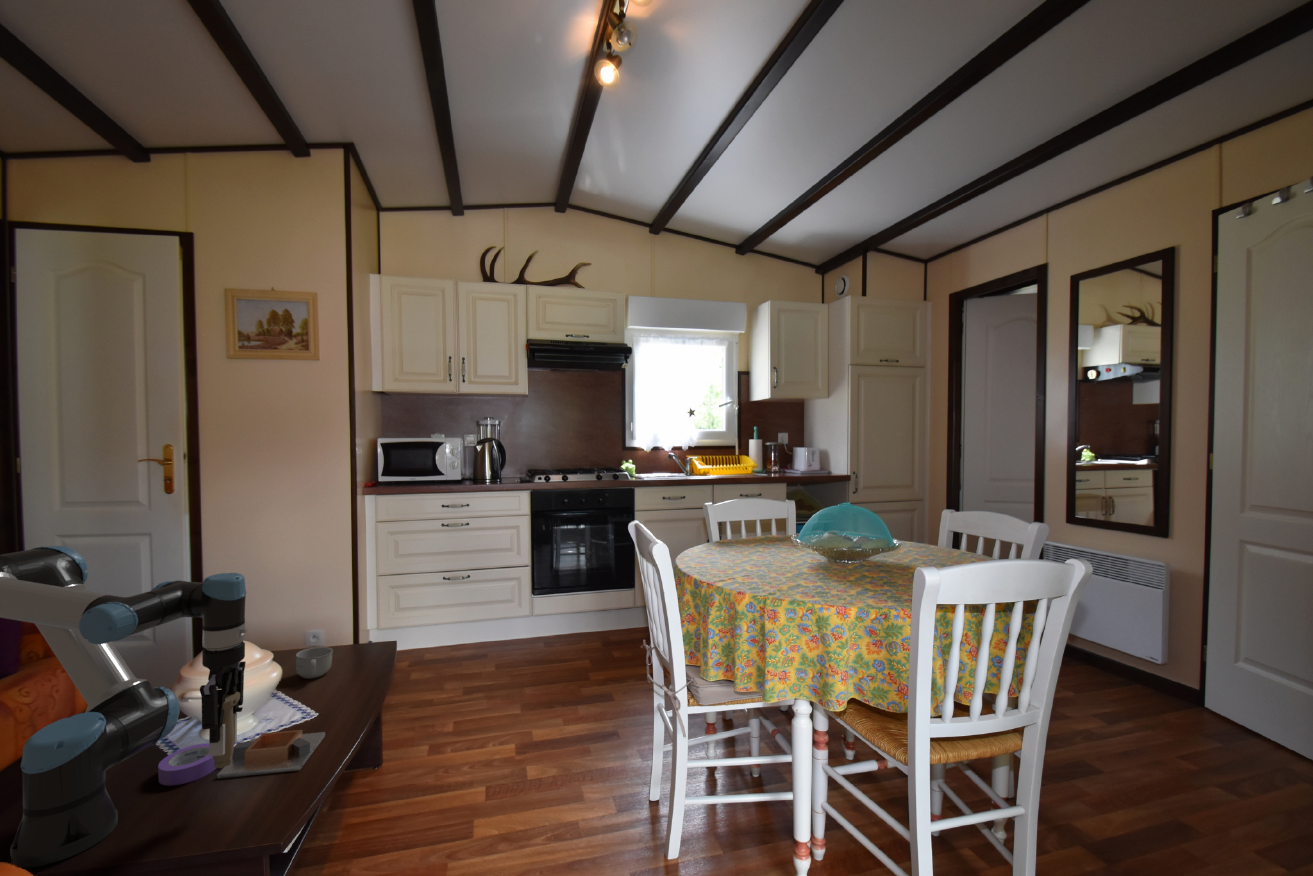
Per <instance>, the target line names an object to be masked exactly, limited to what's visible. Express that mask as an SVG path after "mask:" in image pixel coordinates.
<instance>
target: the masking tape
mask: <svg viewBox="0 0 1313 876" xmlns="http://www.w3.org/2000/svg"><path fill="white" fill-rule="evenodd" d="M214 763H215V761H214V759H213V756H209V742H208V743H207V742H206V743H200V744H199V743H198V744H194V745H190V746H187V747H186V746H185V747H184V748H181V749H179V750H176V751H174V752H173V753H170V754H169V755H167V756H165V757H164V758H162V760H160V761H159V763H158V766H157V772H158V774H157V775H158V783H159V784H160V785H163V786H170V787H171V786H178V785H179V786H180V785H184V784H187V783H192V782H194V781H198V780H200V779H201V778H204V777H206V776H207V775H209V774H211V773H212V772H214V771H215V770H216V769H217V768H215V767H214Z"/></svg>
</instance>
